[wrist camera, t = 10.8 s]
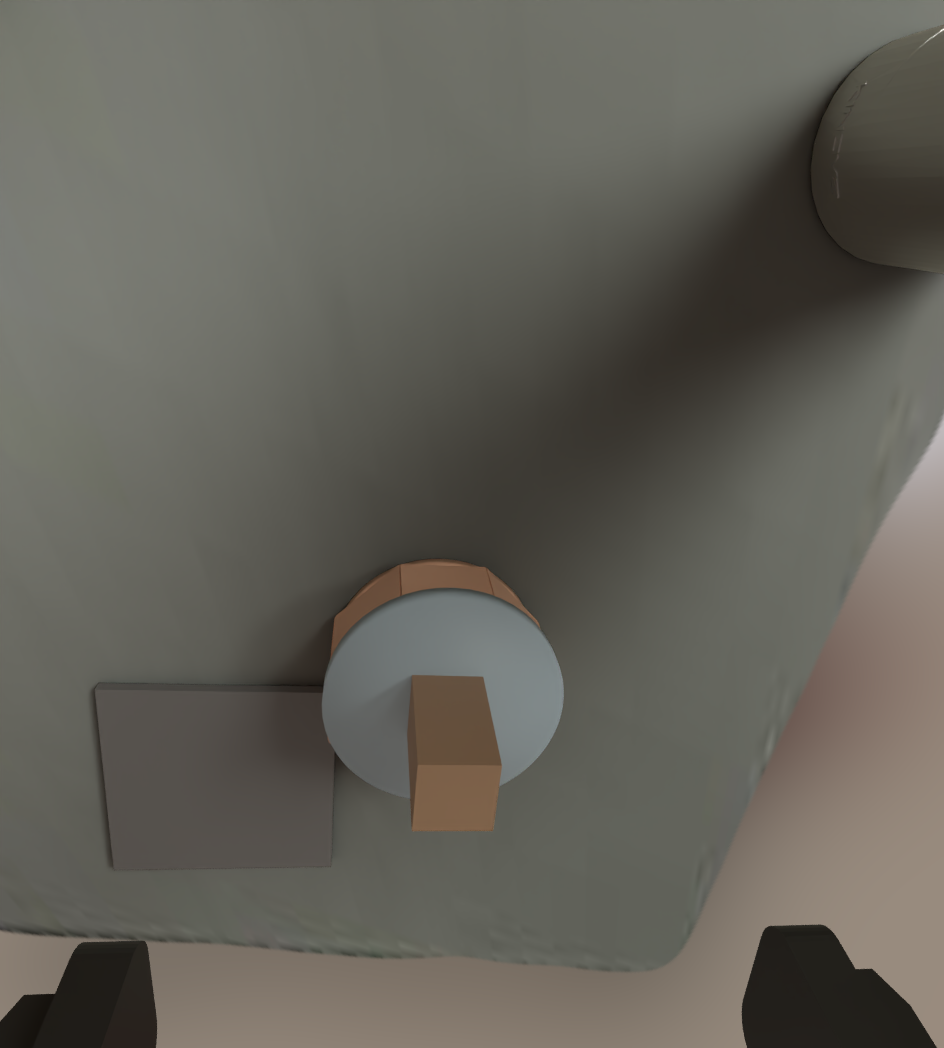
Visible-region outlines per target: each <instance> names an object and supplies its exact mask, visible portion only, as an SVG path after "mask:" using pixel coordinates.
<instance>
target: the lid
mask: <svg viewBox="0 0 944 1048" xmlns="http://www.w3.org/2000/svg"><path fill="white" fill-rule="evenodd" d="M563 699H564V689H563V679H562V675H561V670H560V667H559V664H558V662H557V659H556V656H555V654H554V651H553V649H552V646H551V644H550V642H549V641H548V639H547V637H546V636H545V634H544V632H543V631H542V630H541V629H540V627H539V626H538V625H537V624H536V623H535V622H534V621H533V620H532V619H531V618H530V617H529V616H528V615H527V614H526V613H524V612H523V611H522V610H520V609H519V608H517V607H516V606H514V605H513V604H511V603H509V602H507V601H505V600H503V599H501V598H499V597H496V596H493V595H490V594H488V593H484V592H480V591H475V590H471V589H462V588H434V589H426V590H420V591H416V592H412V593H408V594H405V595H402V596H399V597H397V598H394V599H392V600H389V601H387V602H386V603H384V604H382V605H380V606H378V607H376V608H375V609H373V610H372V611H370V612H369V613H368V614H366V615H365V616H363V617H362V618H361V619H360V620H359V621H358V622H357V623H355V624H354V625H353V626H352V627H351V628H350V629H349V631H348V632H347V633H346V634H345V635H344V637H343V638H342V639H341V641H340V642H339V644H338V645H337V647H336V649H335V650H334V652H333V654H332V657H331V659H330V661H329V663H328V667H327V671H326V674H325V679H324V688H323V697H322V717H323V722H324V727H325V731H326V733H327V736H328V739H329V741H330V743H331V745H332V747H333V749H334V750H335V752H336V754H337V755H338V756H339V758H340V759H341V760H342V761H343V763H344V764H345V765H346V766H347V767H348V768H349V769H350V770H351V771H352V772H353V773H354V774H356V775H357V776H358V777H360V778H361V779H362V780H364V781H365V782H367V783H369V784H370V785H372V786H374V787H376V788H378V789H380V790H382V791H385V792H387V793H390V794H393V795H396V796H400V797H403V798H408V799H410V802H411V822H412V831H493V827H494V820H495V813H496V806H497V798H498V791H499V786H501V785H503V784H505V783H507V782H508V781H510V780H511V779H513V778H514V777H516V776H518V775H519V774H520V773H521V772H523V771H524V770H525V769H526V768H528V767H529V766H530V765H531V764H532V763H533V762H534V761H535V760H536V759H537V758H538V757H539V756H540V754H541V753H542V752H543V750H544V749H545V748H546V746H547V745H548V744H549V742H550V740H551V738H552V737H553V735H554V733H555V731H556V728H557V726H558V723H559V721H560V717H561V713H562V709H563Z"/></svg>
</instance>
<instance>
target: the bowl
mask: <svg viewBox="0 0 944 1048" xmlns="http://www.w3.org/2000/svg"><path fill="white" fill-rule="evenodd" d="M434 588H462V589H471V590H475V591H480V592H484V593H488V594H490V595H493V596H496V597H499V598H501V599H503V600H505V601H507V602H509V603H511V604H513V605H514V606H516V607H517V608H519V609H520V610H522V611H523V612H524V613H526V614H527V615H528V616H529V617H530V618H531V619H532V620H533V621H534V622H535V623H536V624H537V625H538V626H539V627H540V625H539V623H538V621H537V620H536V619H535V618H534V617H533V616H532V615H531V614H530V613H529V612H528V611H527V609H526V608H525V607H524V606H523V604H522V603H521V601H520V599H519V598H518V596H517V595H516V594H515V593H514V592H513V590H512V589H511V588H510V587H509V586H508V585H507V584H506V583H505V582H504V581H502V580H501V579H500V578H498V577H497V576H495V575H494V574H493V573H491V572H490V571H489V569H488V568H485V567H479V566H476V565H473V564H470V563H467V562H462V561H458V560H451V559H424V560H417V561H412V562H408V563H405V564H400V565H397V566H396V567H394V568H391V569H389V570H387V571H385V572H383V573H381V574H380V575H378V576H376V577H375V578H373V579H372V580H371V581H369V582H368V583H367V584H366V585H364V586H363V587H362V588H361V589H360V590H359V591H358V592H357V593H356V594H355V596H354V597H353V598H352V599H351V601H350V602H349V603H348V605H347V607H346V608H345V609H344V610H342V611H341V612H340V613H339V614H337V615H336V616H335V618H334V627H333V636H332V646H331V655H330V659H331V657H332V654H333V652H334V650H335V649H336V647H337V645H338V644H339V642H340V641H341V639H342V638H343V637H344V635H345V634H346V633H347V632H348V631H349V629H350V628H351V627H352V626H353V625H354V624H355V623H357V622H358V621H359V620H360V619H361V618H362V617H363V616H365V615H366V614H368V613H369V612H370V611H372V610H373V609H375V608H376V607H378V606H380V605H382V604H384V603H386V602H387V601H389V600H392V599H394V598H397V597H399V596H402V595H405V594H408V593H412V592H416V591H420V590H426V589H434ZM540 629H541V628H540ZM328 742H329V743H330V741H329V739H328ZM330 744H331V743H330Z"/></svg>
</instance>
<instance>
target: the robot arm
mask: <svg viewBox="0 0 944 1048" xmlns="http://www.w3.org/2000/svg"><path fill="white" fill-rule="evenodd" d="M811 183H812V194H813V198H814V202H815V205H816V209H817V213H818V215H819V217H820V219H821V221H822V223H823V225H824V227H825V229H826V231H827V232H828V233H829V234H830V236H831V237H832V238H833V239H834V240H835V241H836V242H837V244H838V245H839V246H840V247H842V248H843V249H844V250H846V251H847V252H849V253H850V254H852V255H853V256H855V257H857V258H860V259H863V260H866V261H868V262H871V263H875V264H881V265H888V266H895V267H902V268H909V269H916V270H922V271H927V272H933V273H940V274H944V25H941V26H938V27H934V28H931V29H927V30H924V31H921V32H917V33H914V34H911V35H908V36H906V37H903V38H900V39H897V40H895V41H892V42H890V43H889V44H887V45H885V46H884V47H882V48H881V49H879V50H877V51H876V52H874V53H872V54H871V55H870V56H868V57H867V58H866V59H865V60H864V61H863V62H862V63H861V64H860V65H859V66H858V67H857V68H855V69H854V70H853V71H852V72H851V73H850V75H849V76H848V77H847V79H846V80H845V81H844V82H843V84H842V85H841V86H840V88H839V89H838V90H837V92H836V93H835V94H834V96H833V98H832V100H831V102H830V104H829V106H828V108H827V110H826V112H825V114H824V115H823V117H822V120H821V123H820V126H819V130H818V133H817V136H816V139H815V142H814V148H813V155H812V162H811ZM742 1024H743V1032H744V1037H745V1041H746V1045H747V1048H937V1047H936V1046H935V1044H934V1042H933V1041H932V1039H931V1038H930V1036H929V1034H928V1033H927V1031H926V1030H925V1028H924V1027H923V1025H922V1023H921V1022H920V1020H919V1019H918V1017H917V1015H916V1014H915V1012H914V1011H913V1009H912V1007H911V1006H910V1005H909V1004H908V1003H907V1002H906V1001H905V1000H904V999H903V998H902V997H901V996H900V995H899V994H898V993H897V992H895V990H894V989H893V988H891V987H890V986H889V985H888V984H887V983H886V982H885V981H884V980H883V979H882V978H881V977H880V976H879V975H878V974H877V973H876V972H875V971H874V970H873V969H855V968H854V966H853V964H852V962H851V961H850V959H849V957H848V956H847V954H846V952H845V951H844V949H843V947H842V945H841V944H840V942H839V940H838V939H837V937H836V936H835V935H834V933H833V932H832V931H831V930H830V929H829V928H827V927H826V926H824V925H791V926H769V927H767V928H765V930H764V932H763V934H762V936H761V940H760V943H759V947H758V950H757V954H756V957H755V960H754V964H753V967H752V971H751V974H750V978H749V981H748V985H747V988H746V992H745V995H744V999H743V1003H742ZM156 1039H157V1018H156V1009H155V1002H154V994H153V986H152V978H151V970H150V962H149V954H148V947H147V944H146V942H145V941H116V942H83V943H81V944H79V945H78V946H77V948H76V949H75V950H74V952H73V954H72V956H71V958H70V960H69V963H68V965H67V967H66V969H65V972H64V974H63V977H62V979H61V981H60V984H59V986H58V988H57V991H56V993H55V994H37V995H24V996H23V997H22V998H21V999H20V1000H19V1001H18V1002H17V1003H16V1005H15V1006H14V1007H13V1008H12V1009H11V1010H10V1011H9V1012H8V1013H7V1015H6V1016H5V1017H4V1018H3V1019H2V1020H1V1021H0V1048H156Z"/></svg>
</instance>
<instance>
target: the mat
mask: <svg viewBox="0 0 944 1048" xmlns="http://www.w3.org/2000/svg"><path fill="white" fill-rule="evenodd" d="M323 688H324V686H268V685H202V684H137V683H98V685H97V686H96V688H95V698H96V707H97V716H98V726H99V735H100V745H101V754H102V764H103V773H104V782H105V792H106V801H107V811H108V820H109V830H110V839H111V848H112V858H113V867H114V870H158V869H226V868H294V867H331V860H332V829H333V796H334V764H335V750H334V749H333V747H332V745H331V744H330V743H329V742H328V736H327V733H326V731H325V727H324V722H323V717H322V697H323Z"/></svg>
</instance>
